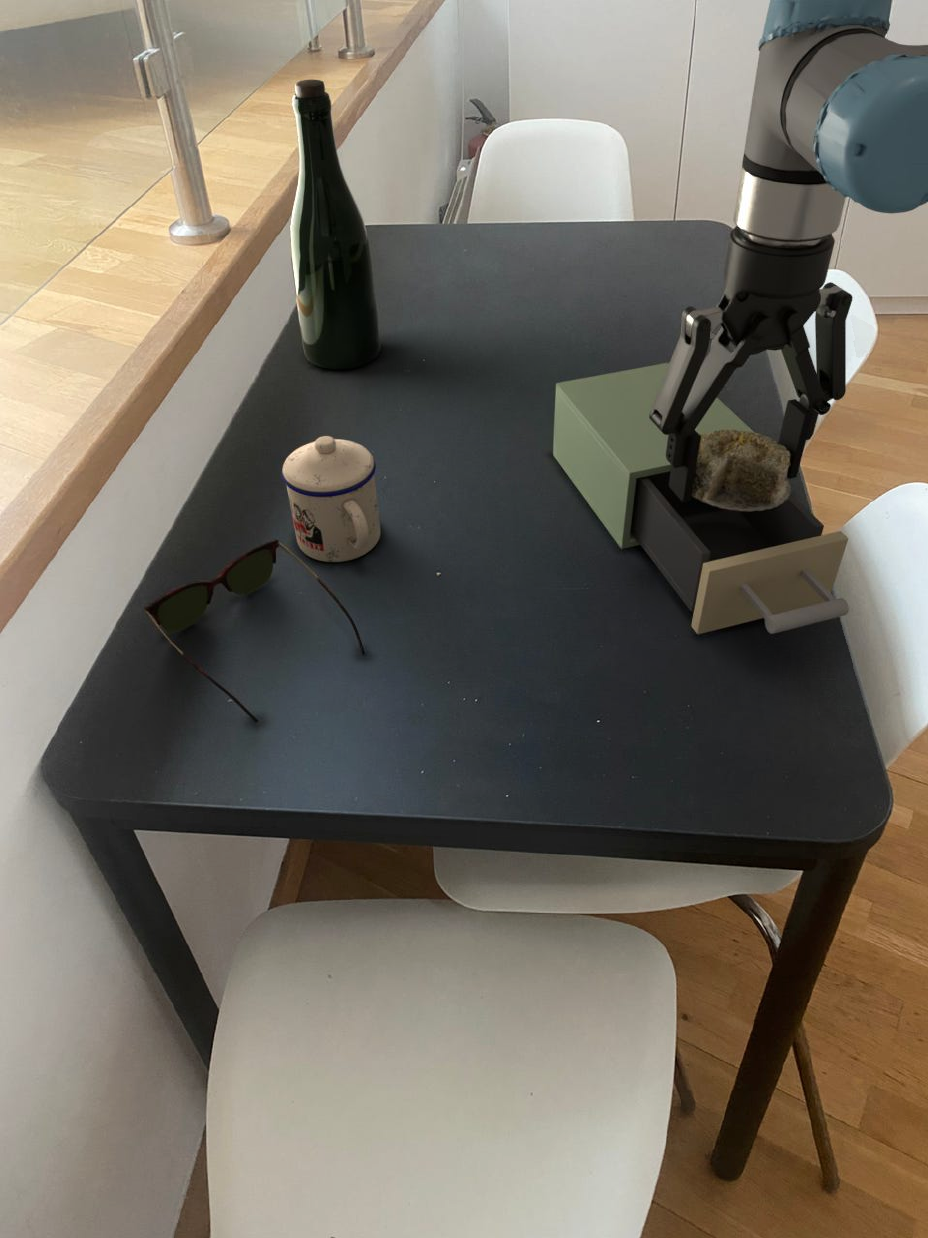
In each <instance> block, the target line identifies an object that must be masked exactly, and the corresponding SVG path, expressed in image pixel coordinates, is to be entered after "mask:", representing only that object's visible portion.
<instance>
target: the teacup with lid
mask: <svg viewBox="0 0 928 1238" xmlns="http://www.w3.org/2000/svg"><path fill="white" fill-rule="evenodd" d="M376 468H377V464H376V461H375V458H374V457H373V455H372V452H370V451H369V449H367V448H366V447H365V446H363V445H362V444H360V443H357V442H355V441H352V440H347V439H339V438H334V437H332V436H330V435H323V436H319V437H318V438H317V439H315V441H312V442H309V443H306V444H304V445H301V446H300V447H298V448H296V449H295V450H293V451H292V452H291V453H290V454H289V455H288V456H287V457H286V459H285V460H284V462H283V465H282V470H281V479H282V480H283V482H284V484H285V485H286V490H287V495H288V500H289V506H290V511H291V517H292V522H293V528H294V532H295V537H296V543H297V545H298V547H299V549H300V550H301V551H302V552H303V553H304V555H306V556H308V557H309V558H311V559H313V560H317V561H319V562H325V563H341V562H347V561H352V560H356V559H358V558H360V557H362V556H364V555H366V554H367V553H369V552H371V550H373V548H374V547H376V546H377V544H378V542H379V540H380V538H381V524H380V514H379V506H378V505H379V504H378V497H377V486H376V478H375V473H376Z"/></svg>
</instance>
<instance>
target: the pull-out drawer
mask: <svg viewBox="0 0 928 1238" xmlns="http://www.w3.org/2000/svg"><path fill="white" fill-rule="evenodd" d="M670 473H671V471H669V472H664V473H659V474H655V475H650V476H645V477H640V478H636V487H635V496H634V504H633V513H632V522H631V530H630V532H631V533H632V534H633V536H634V537H635V538H636V540H637V541H638V542H639V544H640V545H639V546H640V547H641V548H642V549H643V550H644V552H645V553H646V554H647V556H648V557H649V558H650V559H651V561H652V562H653V563H654V565H655V566H656V568H657V569H658V570H659V572H660V573H661V574H662V575H663V576H664V578H665V579H666V581H667V582H668V583H669V585H670V586H671V587H672V589H673V590H674V591H675V593H676V594H677V595H678V597H679V598H680V599H681V601H682V602H683V604H685V606H686V607H687V609H688V610H689V611H690V612H691V613H693V614H692V615H693V616H692V620H691V628H692V629H693V631H694V632H695V633H696V634H697V635H701V634H705V633H708V632H713V631H716V630H721V629H724V628H729V627H733V626H737V625H741V624H744V623H745V624H746V623H749V622H752V621H753V622H754V621H756V620H757V621H758V620H761V619H763V620H764V626H765V629H766V631H767V633H769V634H770V635H775V634H777V633H781V632H785V631H789V630H794V629H798V628H801V627H806V626H809V625H813V624H815V623H816V624H817V623H820V622H821V623H822V622H824V621H828V620H832V619H836V618H840V617H844V616H846V615H848V613H849V603H848V602H847V600H846V599H845V598H843V597H839V598H836V597H835V595H834V594H832V592H833V590H834V589H833V588H834V585H835V583H836V579H837V576H838V573H839V570H840V566H841V563H842V560H843V557H844V554H845V550H846V548H847V545H848V541H849V537H848V536H847V535H846V534H845V533H843V532H842V531H841V530H839V531H834V532H831V533H830V532H829V533H826V534H823V531H824V528H825V525H824V524H823V523H822V522H821V521H820V520H819V519H818V518H817V517H816V516H815V515H814V514H813V513H812V512H811V510H809V509H808V508H807V507H806V506H805V505H804V504H802V502H801V501H800V500H798V499H797V498H796V497H795V496H794V495H793V494H792V493H791V492H790V496H788V499H787V500H785V501H784V503H782V504H780V505H778V506H777V507H773V508H771V509H764V510H761V511H758V510H756V511H750V512H748V511H735V510H727V509H723V508H719V507H716V506H712V505H709V504H707V503H704V502H701V501H700V500H699V499H696V498H694V497H692V496H691V500H690V501H687V502H682V501H681V500H680V499H679V497H678V496H677V495H676V494H675V493H674V492H673V491H672V489H671V488H670V487H669V480H670Z"/></svg>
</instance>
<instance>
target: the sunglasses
mask: <svg viewBox="0 0 928 1238" xmlns="http://www.w3.org/2000/svg"><path fill="white" fill-rule="evenodd" d="M278 548H281V549H282V550H283V551H285V553H287V554H288V555H290V556H291V557H293V558H294V559H295V560H296V561H297V562H299V564H301V565H302V566H303V567H304V568H305V569H306V570H307V571H308V572H309V573H310V574H311V575H312V576H313V577H314V578H315V579H316V581H317V582H318V584H319V585H321V587H322V588H323V589H324V590H325V591H326V592H327V593H328V595H329V596H330V597H331V598H332V599H333V600H334V601H335V603H336V604H337V605H338V606H339V608H340V609H341V610H342V612H343V613H344V614H345V616H346V617H347V619H348V621H349V622H350V624H351V626H352V628H353V631H354V633H355V637H356V640H357V642H358V645H359V648H360V652H361V655H362V656H363V655H366V651H365V648H364V645H363V643H362V639H361V636H360V633H359V631H358V629H357V625H356V623H355V621H354V620H353V618H352V616H351V615H350V613H349V612H348V610H347V609H346V608H345V607H344V605H343V604H342V602H341V601H340V600H339V599H338V597H337V596H336V595H335V594H334V593H333V592H332V591H331V589H330V588H329V587H328V586H327V585H326V584H325V583H324V581H322V580H321V579H320V578H319V576H318V575H317V574H316V573H315V572H314V571H313V570H312V569H311V568H309V566H308V565H306V564H305V563H304V562H303V561H302V560H301V559H300V558H299V557H298V556H297V555H296V554H294V553H293V552H292V551H291V550H290V549H289V548H288V547H287V546H285V545H284V544H282V543H281V542H280V540H279V539H278V538H275V539H272V540H269V541H266V542H264V543H260V544H258V545H257V546H254V547H252V548H251V549H249V550H246V551H245V552H243V553H242V554H240V555H238V557H235V559H233V560H232V561H231V562H229V564H228V565H227V566H225V567H224V569H223V570H222V572H221V573H220V574H219V575H218V576H215V577H214V578H212V579H210V580H205V579H202V580H196V581H192V582H191V581H190V582H187V583H185V584H183V585H180V586H178V587H176V588H172V589H171V590H170V591H168V592H166V593H165V594H162V595H161V596H159V597H157V599H155V600H153V601H152V602H151V603H148V605H146V606H144V607H143V609H144V612H145V614H146V615H147V617H149V618H150V620H151V622H152V623H153V624H154V625H155V627H157V629H158V630H159V631H160V633H161V634H162V635H163V636H164V637H165V638H166V639H167V641H168V642H169V643H170V645H172V646H173V647H174V649H176V651H177V652H178V653H179V654H180V655H181V656H182V657H183V658H184V659H185V660H186V661H187V662H188V663H189V664H191V666H192V667H194V668H195V669H196V670H197V671H198V672H199V673H201V674H202V675H203V676H204V677H205V678H206V679H207V680H209V682H210V683H212V684H213V685H214V686H216V687H217V688H218V689H220V690H221V691H222V692H223V693H224V694H226V695H227V696H228V697H229V698H230V699H231V700H232V701H233V702H235V703H236V705H237V706H239V708H240V709H241V710H243V712H244V713H245V714H246V715H247V716H248V717H249V718H250V719H251V720H252V721H254V723H259V719H257V718H256V717H255V716H254V715H253V713H251V712H250V711H249V710H248V709H247V707H245V706H244V705H243V703H241V702H240V700H239V699H237V698H236V697H235V696H234V695H233V694H232V693H231V692H230V691H228V690H227V689H226V688H225V687H223V686H222V684H220V683H218V681H216V680H215V679H214V678H213V677H212V676H210V675H209V674H208V673H207V672H205V671H204V670H203V669H202V668H201V667H200V666H198V665H197V663H195V662H194V661H193V660H192V659H191V658H190V657H189V656H188V655H187V654H186V653H184V652H183V651H182V650H181V649H180V648H179V647H178V646H176V645H175V643H173V641H172V640H171V639H170V638H169V637H168V635H166V633H165V632H167V633H177V632H180V631H182V630H185V629H188V627H191V626H192V625H194V624H195V623H197V622H198V621H199V620H201V618H202V617H203V615H204V614H205V613H206V611H207V607H208V605H209V604H211V601H212V598H213V596H214V589H215V587H216V586H217V585H219V584H222V586H223V587H224V588H225V589H226V590H227V591H228V592H230V593H233V594H235V595H238V596H245V595H249V594H250V593H253V592H255V591H257V590H258V589H259V588H261V587H263V586H264V585H265V584H266V583H267V582H268V581H269V579H270V578H271V576H272V573H273V570H274V569H273V568H274V564H276V563H277V549H278ZM161 628H162V629H163V630H162V629H161ZM164 631H165V632H164Z"/></svg>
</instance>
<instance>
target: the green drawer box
mask: <svg viewBox="0 0 928 1238" xmlns="http://www.w3.org/2000/svg"><path fill="white" fill-rule="evenodd" d="M669 363H670V361H669V362H663V363H659V364H653V365H647V366H643V367H637V368H632V369H626V370H621V371H616V372H615V371H614V372H610V373H605V374H599V375H593V376H589V377H582V378H577V379H572V380H567V381H561V382H556V383H555V399H554V401H555V402H554V422H553V423H554V424H553V447H552V456H553V457H554V458H555V460H556V461H557V463H558V464H559V465H560V467H561V468H562V469H563V471H564V472H565V474H566V475H567V476H568V478H569V479H570V480H571V482H572V484H574V486H575V487H576V489H577V490H578V492H579V493H580V494H581V496H582V497H583V499H584V500H585V501H586V503H587V504H588V505H589V506H590V509H592V511H593V512H594V513H595V515H596V517H598V519H599V520H600V521H601V523H602V524H603V526H604V528H605V529H606V530H607V531H608V533H609V534H610V535H611V537H612V538H613V540H614V541H615V542H616V544H617V545H618V547H619V549H621V550H623V549H628V548H633V547H638V546H641V545H640V544H639V542H638V541H637V540H636V538H635V537H634V536H633V534H632V533H631V532H630V530H631V522H632V513H633V504H634V496H635V487H636V478H640V477H645V476H650V475H655V474H659V473H664V472H669V471H671V466H672V465H671V464H670V463H669V462H668V460H667V459H666V450H667V449H666V448H667V441H668V435H665V434H663V433H662V432H661V431H660V430H659V429H658V427H657V426H656V425H655V424H654V423H653V422H652V421H651V420H650V419H649V414H650V411H651V409H652V406H653V404H654V401H655V399H656V396H657V394H658V391H659V388H660V386H661V383H662V381H663V378H664V376H665V373H666V371H667V368H668V366H669ZM684 418H685V417H684ZM724 429H726V430H727V429H730V430H731V429H732V430H740V431H751V432H752V433H754V432H755V431H754V430H753V429H752V428H750V427H749V426H748V425H747V424H746V423H745V422H744V421H743V420H742V419H740V417H738V416H737V415H736V414H735V412H734V411H732V410H731V409H730V408H729V407H728V406H727V405H726V404H725V403H724V402H722V400H720V398H718V397H717V398H716V399H715V401H714V402H713V404H712V405H711V407H710V408H709V410H708V411H707V413H706V414H705V415H704V417H703V418H702V420H701V421H700V423H699V424H698V426H697V427H696V429H695V431H696V432H697V433H698V434H702V435H704V434H708V433H709V432H710V433H714V431H716V430H724Z"/></svg>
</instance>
